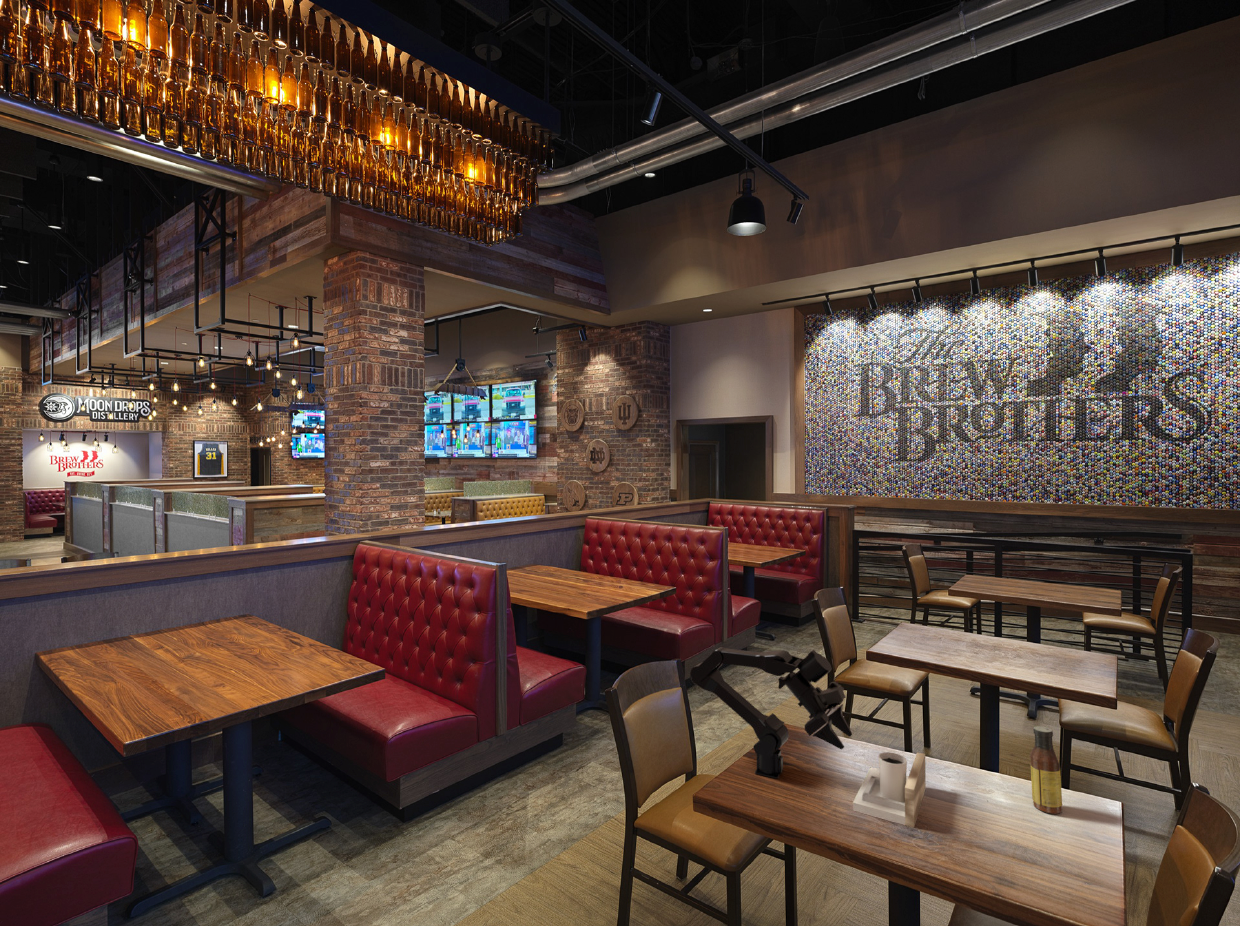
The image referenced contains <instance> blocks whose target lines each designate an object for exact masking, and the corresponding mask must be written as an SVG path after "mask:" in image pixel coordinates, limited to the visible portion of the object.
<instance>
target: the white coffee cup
mask: <svg viewBox="0 0 1240 926" xmlns="http://www.w3.org/2000/svg"><path fill="white" fill-rule="evenodd" d="M907 765H908V760H907V758H906V757H905V756H904V755H901V754H899V753H895V752H891V751H889V752H888V751H887V752H886V751H884V752H880V753H879V754H878V769H879V774H880V792H881V797H883V798H887V799H890V800H894V801H898V802H902V803H903V802H905V785H906V776H907V768H908V767H907Z"/></svg>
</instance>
